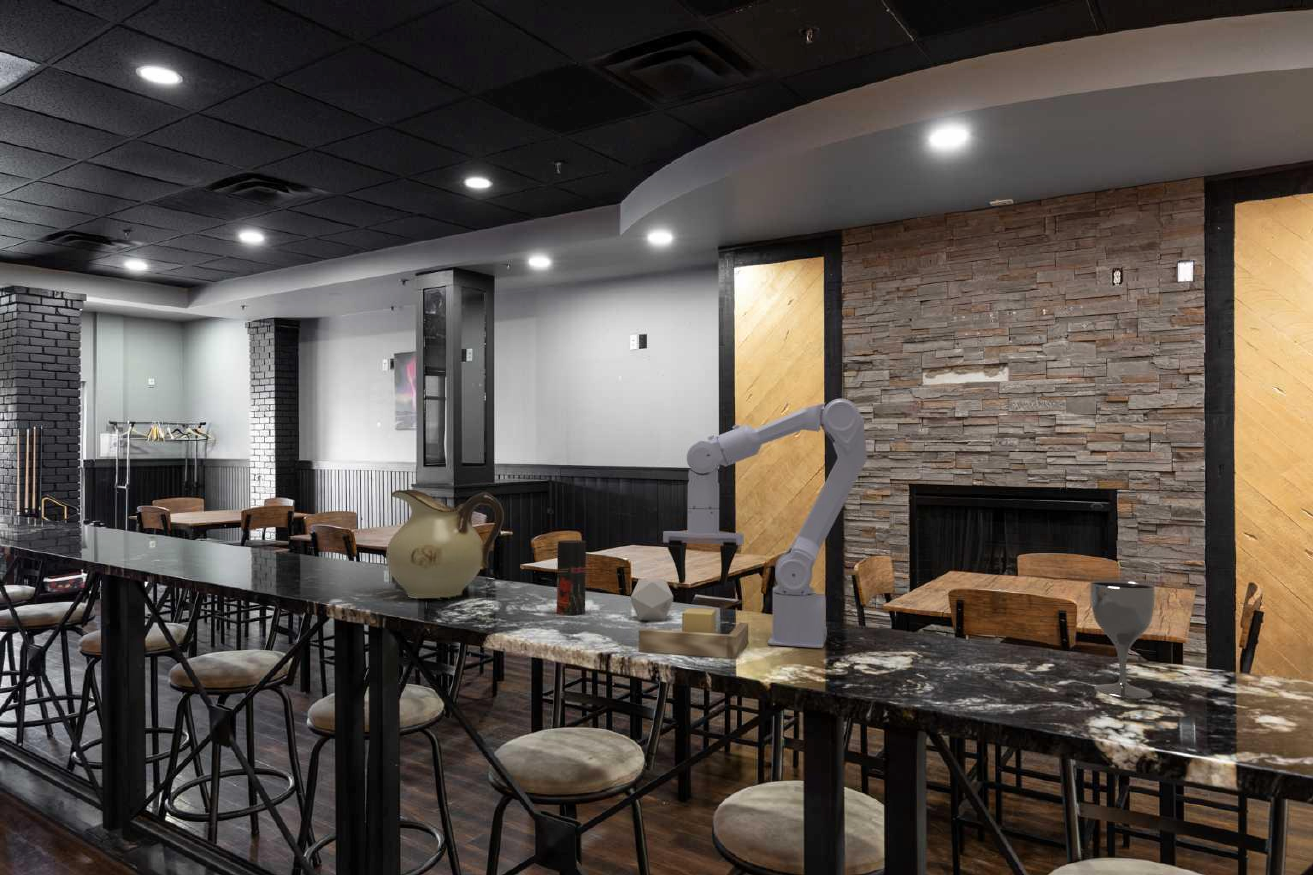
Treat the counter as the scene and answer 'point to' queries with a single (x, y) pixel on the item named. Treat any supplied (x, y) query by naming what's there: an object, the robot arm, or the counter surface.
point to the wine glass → (1122, 624)
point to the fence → (695, 642)
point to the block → (699, 620)
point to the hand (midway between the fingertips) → (702, 583)
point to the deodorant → (571, 577)
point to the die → (652, 599)
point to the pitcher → (439, 545)
